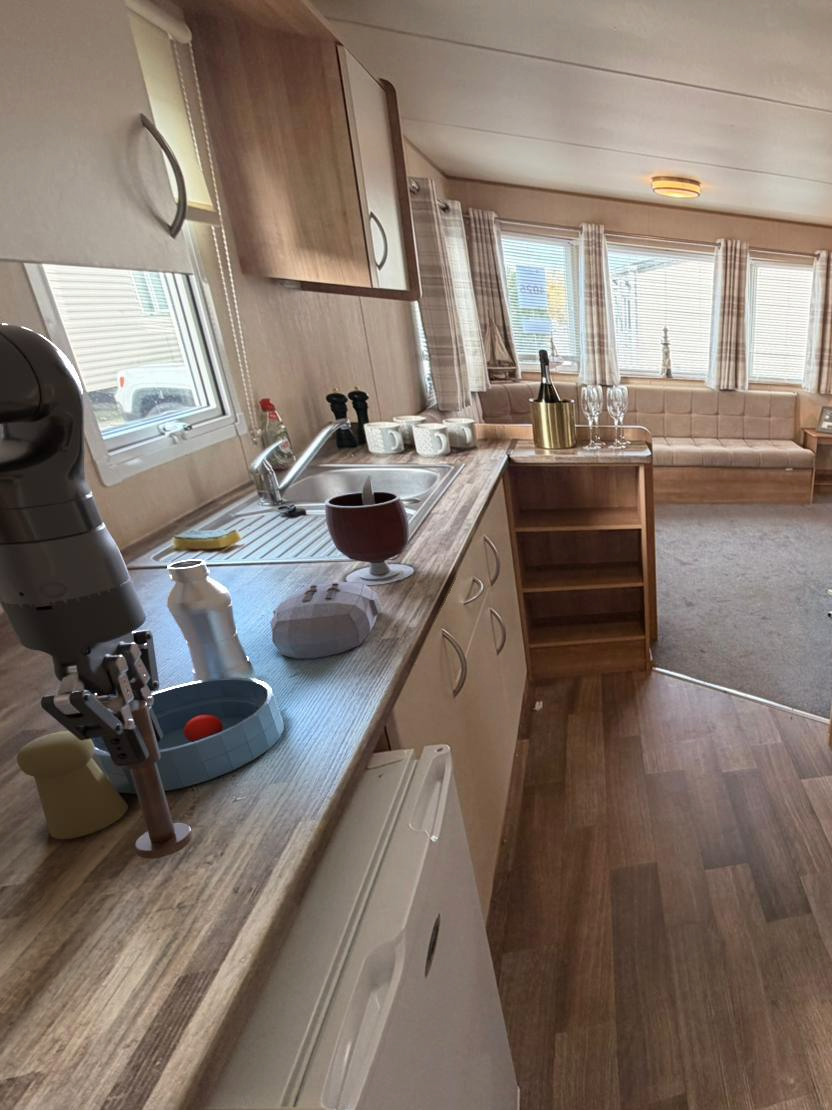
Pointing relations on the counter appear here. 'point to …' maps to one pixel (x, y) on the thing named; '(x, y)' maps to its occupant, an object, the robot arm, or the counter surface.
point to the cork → (70, 785)
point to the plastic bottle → (207, 623)
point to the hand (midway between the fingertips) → (140, 751)
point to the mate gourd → (370, 532)
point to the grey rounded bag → (324, 619)
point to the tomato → (202, 727)
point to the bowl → (186, 763)
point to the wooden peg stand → (153, 795)
